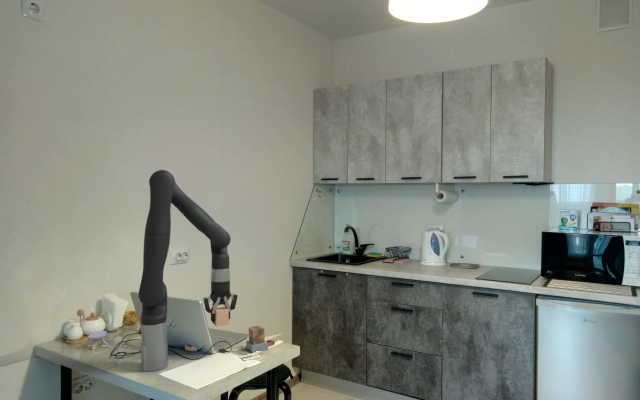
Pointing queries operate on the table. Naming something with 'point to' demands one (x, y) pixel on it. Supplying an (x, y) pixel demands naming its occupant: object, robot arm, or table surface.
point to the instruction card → (250, 356)
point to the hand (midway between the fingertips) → (220, 321)
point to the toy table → (97, 338)
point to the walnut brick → (256, 335)
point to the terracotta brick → (221, 316)
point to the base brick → (257, 346)
